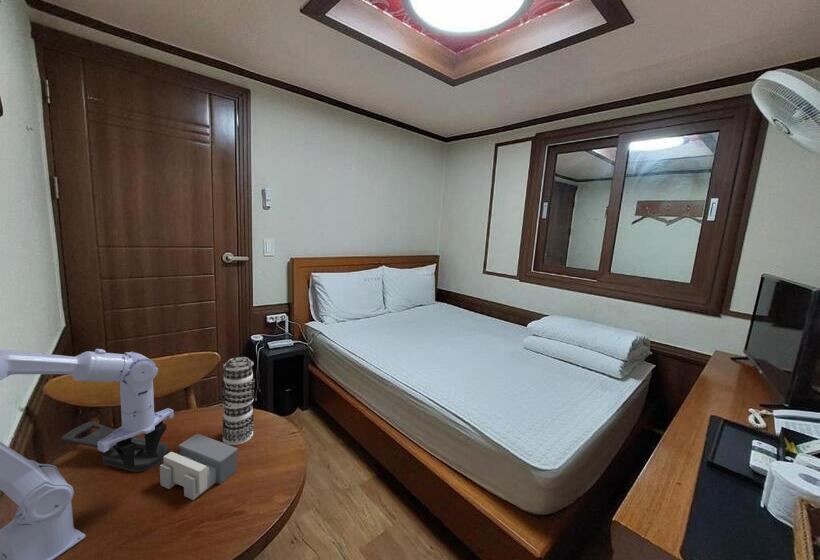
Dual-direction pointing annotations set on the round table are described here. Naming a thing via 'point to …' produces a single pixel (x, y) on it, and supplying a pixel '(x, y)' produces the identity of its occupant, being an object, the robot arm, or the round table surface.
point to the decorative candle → (238, 400)
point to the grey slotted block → (207, 453)
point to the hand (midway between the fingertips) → (140, 460)
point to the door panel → (186, 470)
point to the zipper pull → (111, 456)
